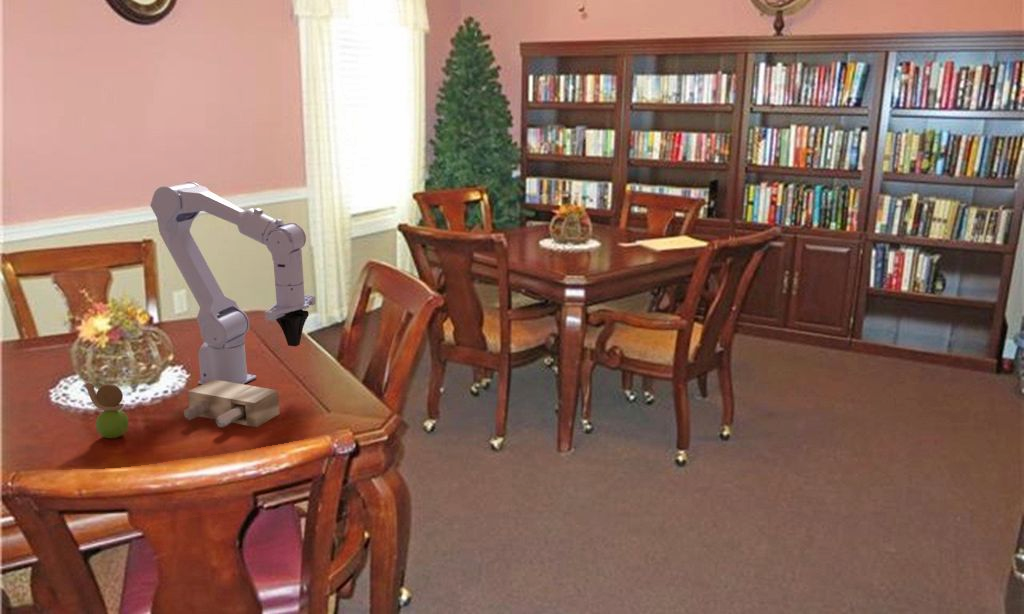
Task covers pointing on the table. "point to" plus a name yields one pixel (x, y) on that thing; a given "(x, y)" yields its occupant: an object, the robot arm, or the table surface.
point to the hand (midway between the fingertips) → (293, 345)
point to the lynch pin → (231, 416)
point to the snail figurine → (108, 410)
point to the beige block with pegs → (233, 402)
